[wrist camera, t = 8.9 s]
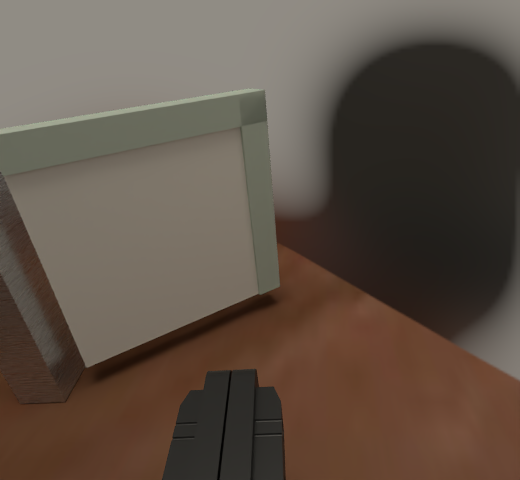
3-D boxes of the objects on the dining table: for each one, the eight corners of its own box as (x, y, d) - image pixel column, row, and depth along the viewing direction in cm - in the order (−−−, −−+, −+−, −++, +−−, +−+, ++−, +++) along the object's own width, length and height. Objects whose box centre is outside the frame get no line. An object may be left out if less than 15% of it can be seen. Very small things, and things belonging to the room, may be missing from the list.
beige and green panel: (87, 370, 20) (-15, 136, 14) (83, 352, 22) (-12, 130, 16) (279, 286, 26) (264, 89, 20) (267, 276, 27) (249, 88, 21)
